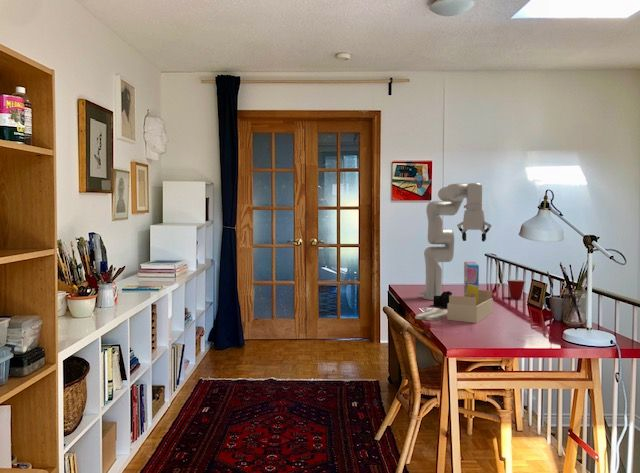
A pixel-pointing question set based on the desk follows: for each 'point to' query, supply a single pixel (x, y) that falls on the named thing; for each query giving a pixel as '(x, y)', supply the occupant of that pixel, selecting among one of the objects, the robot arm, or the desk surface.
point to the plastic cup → (516, 288)
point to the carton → (470, 307)
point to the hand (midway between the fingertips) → (473, 241)
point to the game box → (471, 280)
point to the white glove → (432, 315)
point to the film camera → (442, 299)
